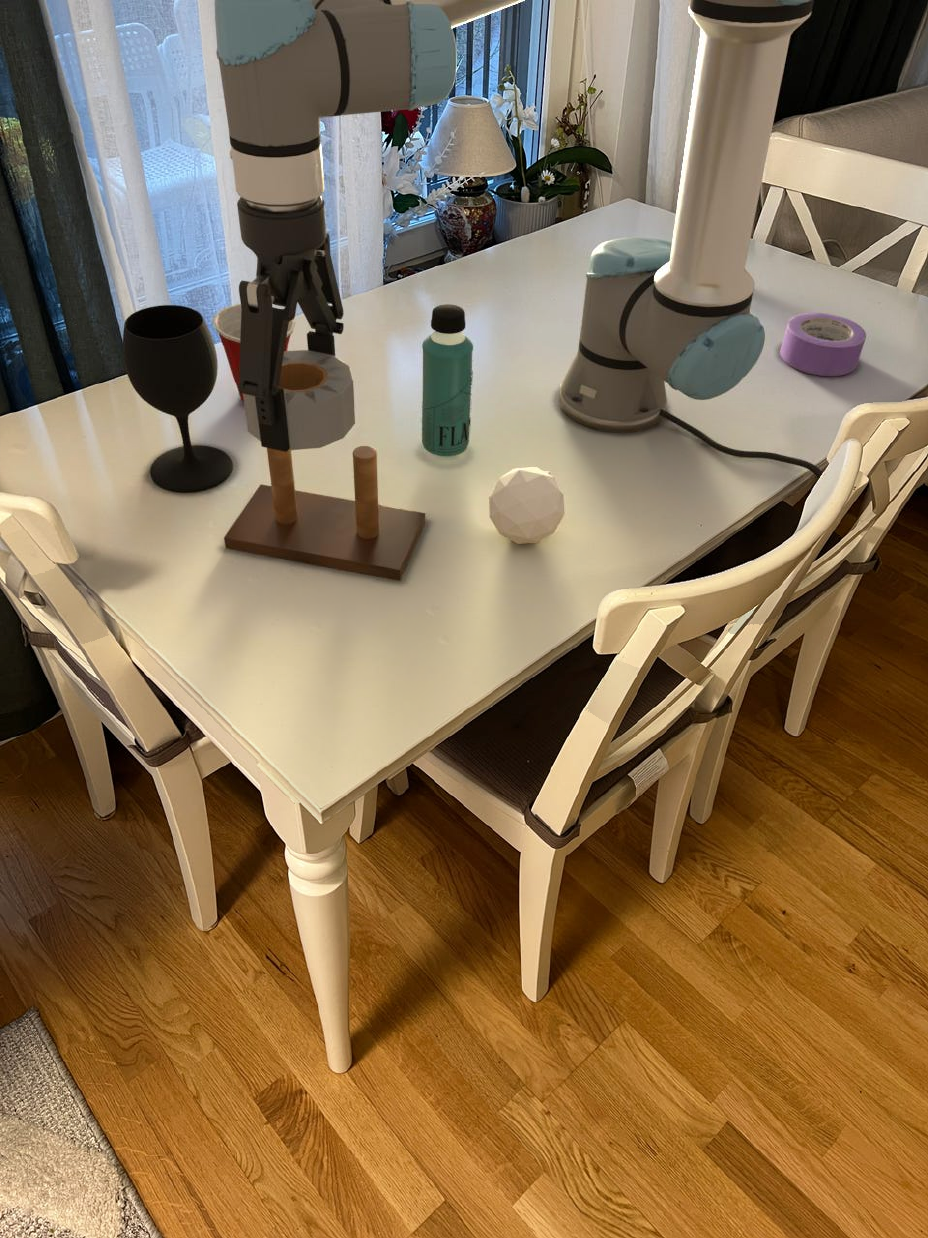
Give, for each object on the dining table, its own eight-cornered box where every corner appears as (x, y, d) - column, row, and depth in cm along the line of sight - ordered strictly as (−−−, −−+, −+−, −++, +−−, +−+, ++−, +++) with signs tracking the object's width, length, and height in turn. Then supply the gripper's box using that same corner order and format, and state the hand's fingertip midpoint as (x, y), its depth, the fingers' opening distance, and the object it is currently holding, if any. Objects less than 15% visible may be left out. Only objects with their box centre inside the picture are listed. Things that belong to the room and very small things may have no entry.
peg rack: (425, 523, 114) (426, 433, 105) (400, 580, 106) (399, 488, 97) (262, 494, 117) (250, 404, 108) (225, 548, 109) (209, 456, 100)
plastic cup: (287, 423, 129) (279, 342, 120) (212, 412, 130) (199, 331, 122) (312, 385, 136) (306, 306, 128) (241, 375, 138) (231, 296, 129)
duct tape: (276, 385, 101) (272, 342, 98) (369, 405, 99) (368, 361, 96) (228, 436, 94) (221, 391, 90) (327, 458, 92) (324, 413, 88)
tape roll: (774, 366, 146) (783, 336, 143) (785, 335, 154) (793, 306, 151) (852, 383, 143) (863, 353, 140) (859, 350, 151) (869, 321, 148)
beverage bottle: (433, 471, 122) (436, 326, 108) (411, 445, 126) (411, 302, 112) (478, 460, 124) (486, 316, 110) (455, 435, 128) (460, 293, 114)
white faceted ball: (560, 557, 107) (581, 509, 116) (546, 484, 102) (570, 440, 112) (488, 560, 110) (515, 513, 119) (472, 489, 106) (501, 446, 115)
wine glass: (156, 447, 123) (124, 301, 109) (237, 446, 124) (215, 301, 110) (143, 494, 116) (107, 343, 102) (229, 492, 116) (205, 343, 103)
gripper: (299, 150, 90) (315, 360, 105) (170, 237, 74) (211, 471, 89) (371, 161, 89) (377, 372, 104) (257, 252, 72) (283, 488, 87)
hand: (301, 418), depth 96 cm, fingers closed on duct tape, 11 cm apart
